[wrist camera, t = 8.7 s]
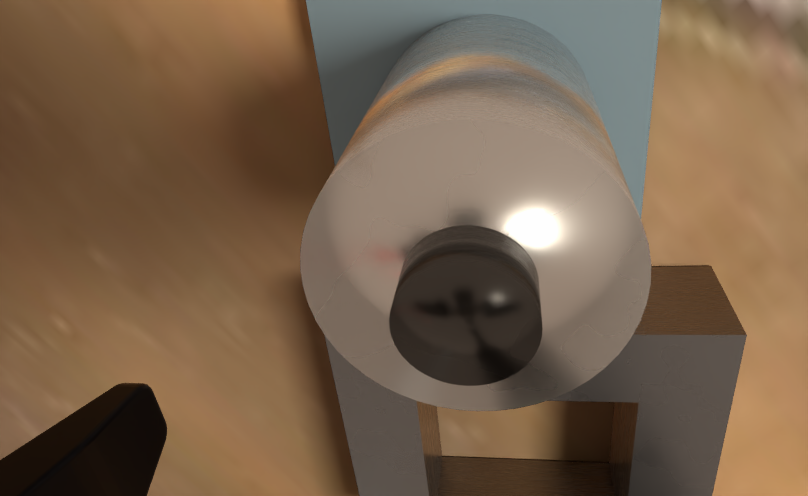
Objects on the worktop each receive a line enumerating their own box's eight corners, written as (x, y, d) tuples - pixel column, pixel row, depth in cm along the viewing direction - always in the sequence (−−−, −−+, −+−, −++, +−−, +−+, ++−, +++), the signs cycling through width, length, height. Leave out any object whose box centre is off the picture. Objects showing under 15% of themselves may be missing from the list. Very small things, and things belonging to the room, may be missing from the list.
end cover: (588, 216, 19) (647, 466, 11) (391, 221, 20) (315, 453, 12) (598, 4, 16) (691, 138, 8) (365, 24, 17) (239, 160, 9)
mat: (631, 240, 20) (637, 257, 19) (358, 246, 21) (352, 262, 21) (659, -74, 15) (668, -71, 14) (310, -37, 17) (299, -32, 16)
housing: (670, 507, 26) (691, 590, 23) (389, 494, 28) (375, 567, 25) (711, 266, 20) (746, 334, 17) (348, 271, 22) (324, 333, 19)
